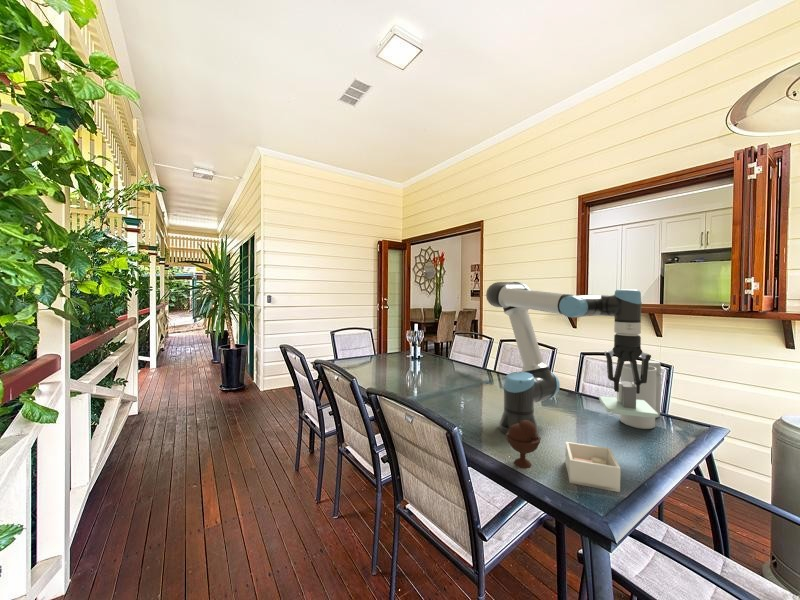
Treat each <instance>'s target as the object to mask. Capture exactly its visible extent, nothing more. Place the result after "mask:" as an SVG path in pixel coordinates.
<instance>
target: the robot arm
mask: <svg viewBox="0 0 800 600" xmlns="http://www.w3.org/2000/svg"><path fill="white" fill-rule="evenodd" d="M485 293H486V294H485V296H486V301H487V302H488V303H489V304H490V305H491V306H492V307H495V308H502V309H503V312H504V314H505V315H507V316H508V317H509V321H510V324H511V328H512V331H513V335H514V338H515V341H516V345H517V348H518V351H519V355H520V359H521V363H522V366H523V368H522V369H521V371H518V372H517V371H513V372H509V373H508V374H506V375H505V377H504V381H503V382H504V383H503V413H502V415H501V418H500V420H499V431H500V432H501V433H503V434H505V435H506V433H507V432H508V431H509V429H510V427H511V426H512V425H514V424H516V423H520V422H521V421H522V420H529V421H531V422H532V423H533V424H534V425H535V427H536V433H537V435H538V436H539V426H538V423H537V419H536V417H535V412H534V411H535V403H536V404H537V403H539V402H543V401H546V400H547V401H548V400H550V399H552V398H554V397H556V396H557V395H558V393H559V391H560V387H561V383H560V380H559V378H558V375H556V374H555V373H554V372H553V371H551V369H550V367H549V365H548V364H547V363H545V362H544V360H543V357H542V353H541V350H540V349H541V348H540V347H539V344H538V343H539V342H538V340H537V336H536V333H535V330H534V327H533V324H532V320H531V317H530V314H529V310H532V311H538V312H539V311H540V312H544V313H552V314H557V315H564V316H565V317H568V318H582V317H593V316H602V317H603V316H604V317H607V316H608V317H614V328H613V330H614V333H615V334H614V335H613V348H612V350H609V351H604V352H603V353H604V355H605V357H606V369H607V370H606V371H607V379H608V380H609V381H612V382H613V391H614V392H616V398H617V400H618V402H622V383H621V382H619V381H621V372H622V368H623V364H625V362H629V364H631V368H632V374H633V379H634V383H631V384H633V385H634V386H635V387H636V394H639V393H640V385H641V384H642V383H646V382H647V373H648V362H649V360H651V358H652V355H651V354H649V353H647V352H646V353H645V352H643V350H642V349H641V348H642V347H641V343H642V337H641V335H640V334H641V333H642V332H641V329H642V294H641V291H640V290H639V289H616V290H615V291H614V294H611V295H609V294H607V295H606V294H584V295H583V294H582V295H581V294H579V295H578V294H569V293H567V294H566V293H559V292H548V291H540V290H532V289H530V288H529V287H528V285H527V284H526V283H523V282H519V281H512V282H511V281H499V282H498V281H496V282H494V283H492V284H491V285H489V286H488V288H487V290H486V292H485ZM614 355H615V357H616V358H617V360H616V367H615V372H614V368H613V357H614ZM639 357H641V376H640V379H639V374H638V369H637V364H638V362H637V360H638V359H639Z"/></svg>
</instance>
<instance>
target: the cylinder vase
mask: <svg viewBox="0 0 800 600" xmlns="http://www.w3.org/2000/svg"><path fill="white" fill-rule="evenodd" d="M641 365H642V363H640V364H639V363H637V369H638V374H639V379H640V376H641ZM656 370H657V369H656V368H655V367H652V366H648V373H647V382H646V383H642V384H641V385H640V393H639V394H636V400H644V401H645V402H647V403H648V404H649V405H650V406H651V407H652V408H653V409H654V410H655V409H656ZM620 381H628V382H630V383H634V379H633V374H632V368H631V364H630V363H624V364H623V368H622V372H621V377H620ZM619 420H620V422H621V423H623V424H624V425H625V426H628V427H632V428H636V429H639V430H641V429H642V430H650V429H654V428H655V427H656V417H651V418H649V417H640V416H631V415H622V414H619Z"/></svg>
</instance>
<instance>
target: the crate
mask: <svg viewBox="0 0 800 600" xmlns="http://www.w3.org/2000/svg"><path fill="white" fill-rule="evenodd" d="M564 455H565V457H564V458H565V459H564V461H565V462H564V463H565V467H566V471H567V476H568V480H569V484H575V485H580V486H586V487H589V488H590V487H592V488H596V489H601V490H606V491H613V492H617V493H620V492H621V469H622V468H621V467H620V465H619V463H618V461H617V459H616V457H615V455H614V453H613V451H612V449H611V447H604V446H597V445H591V444H586V443H585V444H583V443H579V442H578V443H577V442H570V441H565V454H564Z"/></svg>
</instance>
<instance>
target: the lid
mask: <svg viewBox="0 0 800 600" xmlns="http://www.w3.org/2000/svg"><path fill="white" fill-rule="evenodd" d="M619 382H621V383H622V402H618V400H617V397H615V396H614V397H613V396H603V395H599V397H598V399H599V401H600V403H601V405H602V406H603V408H604V409H605V410H606V412H607V413H611V414H615V415H616V414H617V415H620V414H622V415H631V416H640V417H649V418H651V417H655V418H659V417H658V413H657V412H656V411H655V410H654V409H653V408H652V407H651V406H650V405H649V404H648V403H647V402H645V401H644V400H636V387H635V386H634V385H633V384H631V383H630V382H628V381H621V380H620V381H619Z"/></svg>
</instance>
